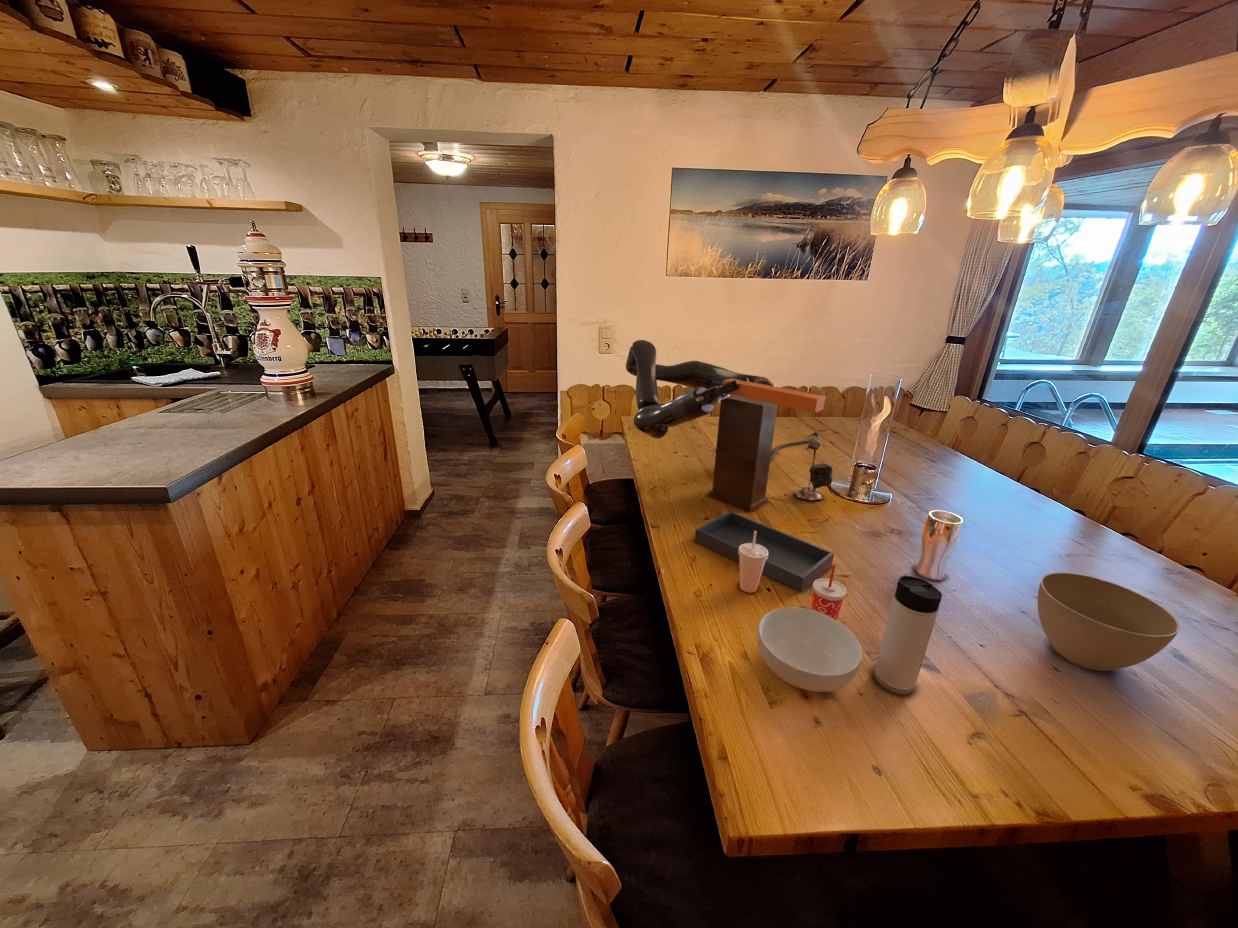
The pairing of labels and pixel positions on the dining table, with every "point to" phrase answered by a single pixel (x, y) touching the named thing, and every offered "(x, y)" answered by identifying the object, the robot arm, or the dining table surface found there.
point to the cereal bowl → (808, 648)
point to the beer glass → (938, 543)
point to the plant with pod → (816, 476)
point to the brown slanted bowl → (1101, 622)
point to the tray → (786, 553)
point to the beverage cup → (828, 596)
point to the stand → (743, 451)
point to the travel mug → (907, 634)
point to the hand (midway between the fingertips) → (742, 382)
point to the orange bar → (778, 396)
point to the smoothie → (751, 564)
